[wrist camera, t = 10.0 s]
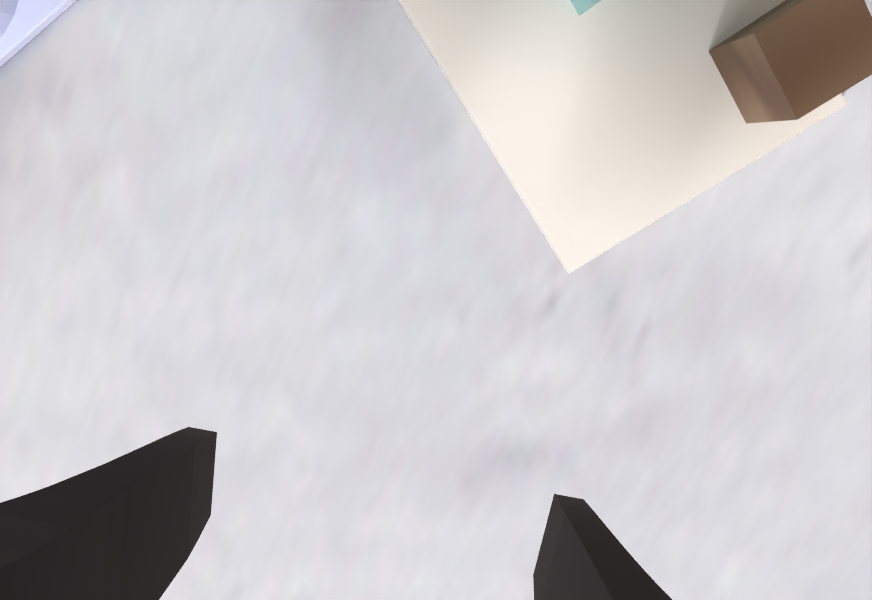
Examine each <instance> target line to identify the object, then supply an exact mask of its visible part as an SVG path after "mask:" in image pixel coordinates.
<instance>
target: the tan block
mask: <svg viewBox="0 0 872 600" xmlns="http://www.w3.org/2000/svg"><path fill="white" fill-rule="evenodd" d="M709 53H710V55H711V57H712V59H713V61H714V63H715V65H716V67H717V68H718V70H719V72H720V74H721V76H722V78H723V80H724V82H725V84H726V86H727V88H728V90H729V91H730V93H731V95H732V97H733V99H734V101H735V103H736V105H737V107H738V109H739V111H740V113H741V115H742V116H743V118H744V120H745V122H746V124H747V123H761V122H774V121H788V120H798V119H800V118H801V117H803V116H804V115H806V114H808V113H809V112H811V111H813V110H814V109H816V108H818V107H819V106H821V105H822V104H824V103H826V102H827V101H829V100H831V99H832V98H834V97H835V96H837V95H839V94H840V93H842V92H844V91H845V90H847V89H849V88H850V87H852V86H853V85H855V84H857V83H858V82H860V81H862V80H863V79H865V78H867V77H868V76H870V75H871V74H872V17H871V15H870V12H869V10H868V8H867V6H866V4H865V1H864V0H785V1H784V2H782V3H781V4H779V5H778V6H776V7H775V8H773V9H772V10H770V11H769V12H767V13H766V14H764V15H763V16H761V17H760V18H758V19H756V20H755V21H753V22H752V23H750V24H749V25H747V26H746V27H744V28H743V29H741V30H740V31H738V32H737V33H735V34H734V35H732V36H731V37H729V38H728V39H726V40H724V41H723V42H721V43H720V44H718V45H717V46H715V47H714V48H712V49H711V50H709Z"/></svg>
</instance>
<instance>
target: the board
mask: <svg viewBox="0 0 872 600" xmlns="http://www.w3.org/2000/svg"><path fill="white" fill-rule="evenodd" d="M398 1H399V3H400V5H401V6H402V8H403V9H404V11H405V13H406V14H407V16H408V17H409V19H410V21H411V22H412V24H413V25H414V27H415V29H416V30H417V32H418V34H419V35H420V37H421V38H422V40H423V42H424V43H425V45H426V46H427V48H428V50H429V51H430V53H431V54H432V56H433V58H434V59H435V61H436V62H437V64H438V66H439V67H440V69H441V70H442V72H443V74H444V75H445V77H446V79H447V80H448V82H449V83H450V85H451V87H452V88H453V90H454V91H455V93H456V95H457V96H458V98H459V99H460V101H461V103H462V104H463V106H464V107H465V109H466V111H467V112H468V114H469V115H470V117H471V119H472V120H473V122H474V124H475V125H476V127H477V128H478V130H479V132H480V133H481V135H482V136H483V138H484V140H485V141H486V143H487V144H488V146H489V148H490V149H491V151H492V152H493V154H494V156H495V157H496V159H497V161H498V162H499V164H500V165H501V167H502V169H503V170H504V172H505V173H506V175H507V177H508V178H509V180H510V181H511V183H512V185H513V186H514V188H515V189H516V191H517V193H518V194H519V196H520V197H521V199H522V201H523V202H524V204H525V206H526V207H527V209H528V210H529V212H530V214H531V215H532V217H533V218H534V220H535V222H536V223H537V225H538V226H539V228H540V230H541V231H542V233H543V234H544V236H545V238H546V239H547V241H548V242H549V244H550V246H551V247H552V249H553V251H554V252H555V254H556V255H557V257H558V259H559V260H560V262H561V263H562V265H563V267H564V268H565V270H566V271H567V273H568V274H569V273H571V272H572V271H574V270H576V269H577V268H579V267H581V266H582V265H584V264H585V263H587V262H589V261H590V260H592V259H594V258H595V257H597V256H599V255H600V254H602V253H604V252H605V251H607V250H609V249H610V248H612V247H613V246H615V245H617V244H618V243H620V242H622V241H623V240H625V239H627V238H628V237H630V236H632V235H633V234H635V233H637V232H638V231H640V230H642V229H643V228H645V227H646V226H648V225H650V224H651V223H653V222H655V221H656V220H658V219H660V218H661V217H663V216H665V215H666V214H668V213H670V212H671V211H673V210H674V209H676V208H678V207H679V206H681V205H683V204H684V203H686V202H688V201H689V200H691V199H693V198H694V197H696V196H698V195H699V194H701V193H703V192H704V191H706V190H707V189H709V188H711V187H712V186H714V185H716V184H717V183H719V182H721V181H722V180H724V179H726V178H727V177H729V176H731V175H732V174H734V173H735V172H737V171H739V170H740V169H742V168H744V167H745V166H747V165H749V164H750V163H752V162H754V161H755V160H757V159H759V158H760V157H762V156H763V155H765V154H767V153H768V152H770V151H772V150H773V149H775V148H777V147H778V146H780V145H782V144H783V143H785V142H787V141H788V140H790V139H792V138H793V137H795V136H796V135H798V134H800V133H801V132H803V131H805V130H806V129H808V128H810V127H811V126H813V125H815V124H816V123H818V122H820V121H821V120H823V119H824V118H826V117H828V116H829V115H831V114H833V113H834V112H836V111H838V110H839V109H841V108H843V107H844V106H846V103H845V100H844V98H843V96H842V94H841V93H840V94H839V95H837V96H835V97H834V98H832V99H831V100H829V101H827V102H826V103H824V104H822V105H821V106H819V107H818V108H816V109H814V110H813V111H811V112H809V113H808V114H806V115H804V116H803V117H801V118H800V119H798V120H788V121H774V122H761V123H747V124H746V122H745V120H744V118H743V116H742V115H741V113H740V111H739V109H738V107H737V105H736V103H735V101H734V99H733V97H732V95H731V93H730V91H729V90H728V88H727V86H726V84H725V82H724V80H723V78H722V76H721V74H720V72H719V70H718V68H717V67H716V65H715V63H714V61H713V59H712V57H711V55H710V53H709V50H711V49H712V48H714V47H715V46H717V45H718V44H720V43H721V42H723V41H724V40H726V39H728V38H729V37H731V36H732V35H734V34H735V33H737V32H738V31H740V30H741V29H743V28H744V27H746V26H747V25H749V24H750V23H752V22H753V21H755V20H756V19H758V18H760V17H761V16H763V15H764V14H766V13H767V12H769V11H770V10H772V9H773V8H775V7H776V6H778V5H779V4H781V3H782V2H784V1H785V0H601V1H600V2H599V3H597V4H596V5H594V6H593V7H591V8H590V9H589V10H587V11H586V12H584V13H583V14H582V15H580V16H579V15H578V13H577V11H576V9H575V8H574V6H573V4H572V2H571V1H570V0H398Z"/></svg>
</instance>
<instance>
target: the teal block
mask: <svg viewBox="0 0 872 600" xmlns="http://www.w3.org/2000/svg"><path fill="white" fill-rule="evenodd" d="M570 1H571V2H572V4H573V6H574V8H575V9H576V11H577V13H578V15H579V16H580V15H582V14H583V13H584V12H586V11H587V10H589V9H590V8H591V7H593V6H594V5H596V4H597V3H599V2H600V1H601V0H570Z"/></svg>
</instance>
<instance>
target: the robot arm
mask: <svg viewBox="0 0 872 600" xmlns="http://www.w3.org/2000/svg"><path fill="white" fill-rule="evenodd" d="M75 1H76V0H0V67H1V66H2V65H3V64H4V63H5V62H7V61H8V60H9V59H10V58H11V57H12V56H13V55H15V54H16V53H17V52H18V51H19V50H20V49H21V48H23V47H24V46H25V45H26V44H27V43H28V42H29V41H31V40H32V39H33V38H34V37H35V36H36V35H38V34H39V33H40V32H41V31H42V30H43V29H44V28H46V27H47V26H48V25H49V24H50V23H51V22H52V21H54V20H55V19H56V18H57V17H58V16H59V15H60V14H62V13H63V12H64V11H65V10H66V9H67V8H68V7H70V6H71V5H72V4H73V3H74V2H75ZM216 437H217V432H213V431H207V430H202V429H196V428H191V427H187V428H185V429H182V430H179V431H177V432H174V433H172V434H170V435H168V436H165V437H163V438H161V439H159V440H156V441H154V442H152V443H150V444H148V445H145V446H143V447H141V448H139V449H137V450H134V451H132V452H130V453H128V454H126V455H123V456H121V457H119V458H117V459H114V460H112V461H110V462H108V463H105V464H103V465H101V466H98V467H96V468H93V469H91V470H89V471H86V472H84V473H81V474H79V475H76V476H74V477H71V478H69V479H66V480H64V481H61V482H59V483H56V484H54V485H51V486H49V487H46V488H43V489H41V490H38V491H35V492H32V493H29V494H26V495H23V496H21V497H17V498H14V499H11V500H8V501H5V502H2V503H0V600H159V599H160V597H161V596H162V595H163V593H164V592H165V590H166V589H167V587H168V586H169V585H170V583H171V582H172V580H173V579H174V577H175V576H176V575H177V573H178V572H179V570H180V569H181V567H182V566H183V565H184V563H185V562H186V560H187V559H188V557H189V555H190V553H191V552H192V550H193V548H194V546H195V544H196V542H197V541H198V539H199V537H200V535H201V533H202V531H203V529H204V527H205V525H206V523H207V521H208V519H209V517H210V516H211V504H212V490H213V477H214V463H215V450H216ZM533 578H534V600H672V599H671V598H670V597H669V596H668V595H667V594H666V593H665V592H664V591H663V590H662V589H661V588H660V587H659V586H658V585H657V584H656V583H655V582H654V580H653V579H652V578H651V577H650V576H649V575H648V574H647V573H646V572H645V571H644V570H643V569H642V567H641V566H640V565H639V564H638V563H637V562H636V561H635V560H634V558H633V557H632V556H631V555H630V554H629V553H628V551H627V550H626V549H625V548H624V547H623V546H622V544H621V543H620V542H619V541H618V540H617V539H616V537H615V536H614V535H613V534H612V533H611V531H610V530H609V529H608V528H607V527H606V525H605V524H604V523H603V522H602V521H601V519H600V518H599V517H598V516H597V515H596V513H595V512H594V511H593V510H592V509H591V507H590V506H589V505H588V504H587V503H586V502H585V501H584V500H583V499H578V498H573V497H568V496H562V495H557V494H554V497H553V501H552V505H551V509H550V513H549V516H548V520H547V524H546V528H545V532H544V536H543V540H542V544H541V547H540V551H539V555H538V559H537V563H536V567H535V571H534V574H533Z"/></svg>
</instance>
